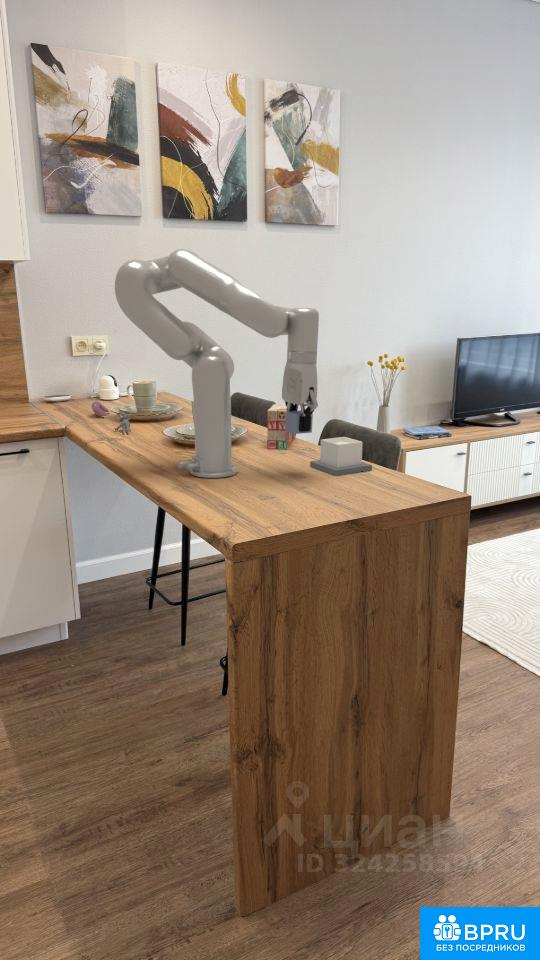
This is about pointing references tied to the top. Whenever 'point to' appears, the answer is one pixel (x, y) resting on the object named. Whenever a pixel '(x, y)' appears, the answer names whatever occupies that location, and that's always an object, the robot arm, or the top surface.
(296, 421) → the top brick
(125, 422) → the elephant figurine
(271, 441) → the stack of blocks
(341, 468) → the tower base
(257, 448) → the top surface
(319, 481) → the top surface
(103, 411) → the purple rounded piece
